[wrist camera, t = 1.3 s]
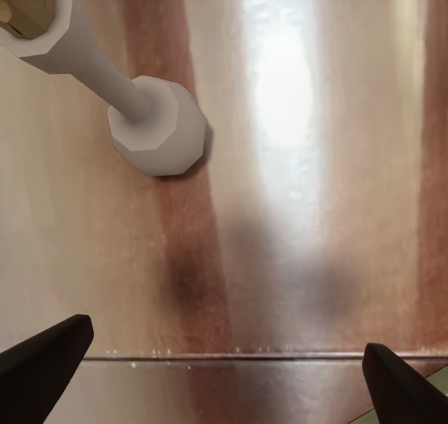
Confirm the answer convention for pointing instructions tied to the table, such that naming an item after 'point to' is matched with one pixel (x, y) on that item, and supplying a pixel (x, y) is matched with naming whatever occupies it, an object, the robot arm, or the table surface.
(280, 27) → the table surface
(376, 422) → the tray
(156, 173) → the potion bottle
